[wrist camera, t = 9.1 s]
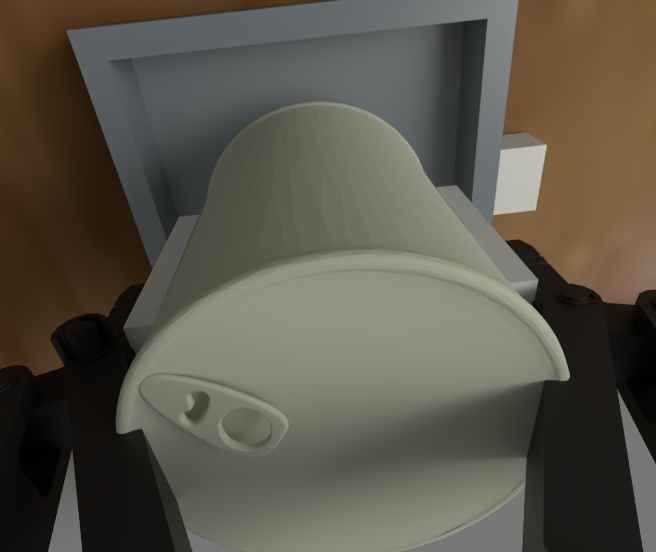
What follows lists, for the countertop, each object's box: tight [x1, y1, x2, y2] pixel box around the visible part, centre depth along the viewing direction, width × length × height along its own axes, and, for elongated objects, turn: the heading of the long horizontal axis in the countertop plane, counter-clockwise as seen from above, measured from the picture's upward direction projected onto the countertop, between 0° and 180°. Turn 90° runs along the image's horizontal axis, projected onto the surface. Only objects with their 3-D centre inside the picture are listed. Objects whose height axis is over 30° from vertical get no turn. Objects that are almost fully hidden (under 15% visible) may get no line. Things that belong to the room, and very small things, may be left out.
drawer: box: [67, 0, 547, 270], centre depth 20 cm, size 17×15×3 cm
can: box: [116, 101, 570, 552], centre depth 14 cm, size 9×9×12 cm
